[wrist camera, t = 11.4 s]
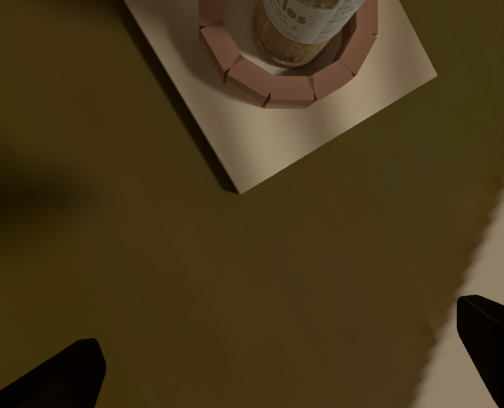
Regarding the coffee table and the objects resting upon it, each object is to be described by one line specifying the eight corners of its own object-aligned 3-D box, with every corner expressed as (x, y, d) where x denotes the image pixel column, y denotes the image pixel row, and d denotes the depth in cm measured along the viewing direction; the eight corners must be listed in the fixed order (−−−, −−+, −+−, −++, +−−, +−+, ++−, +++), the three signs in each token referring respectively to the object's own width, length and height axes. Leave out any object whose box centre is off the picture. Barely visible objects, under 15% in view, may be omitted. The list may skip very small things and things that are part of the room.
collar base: (239, 194, 21) (244, 194, 18) (110, -22, 19) (92, -60, 16) (426, 80, 22) (461, 63, 19) (318, -129, 21) (338, -182, 18)
